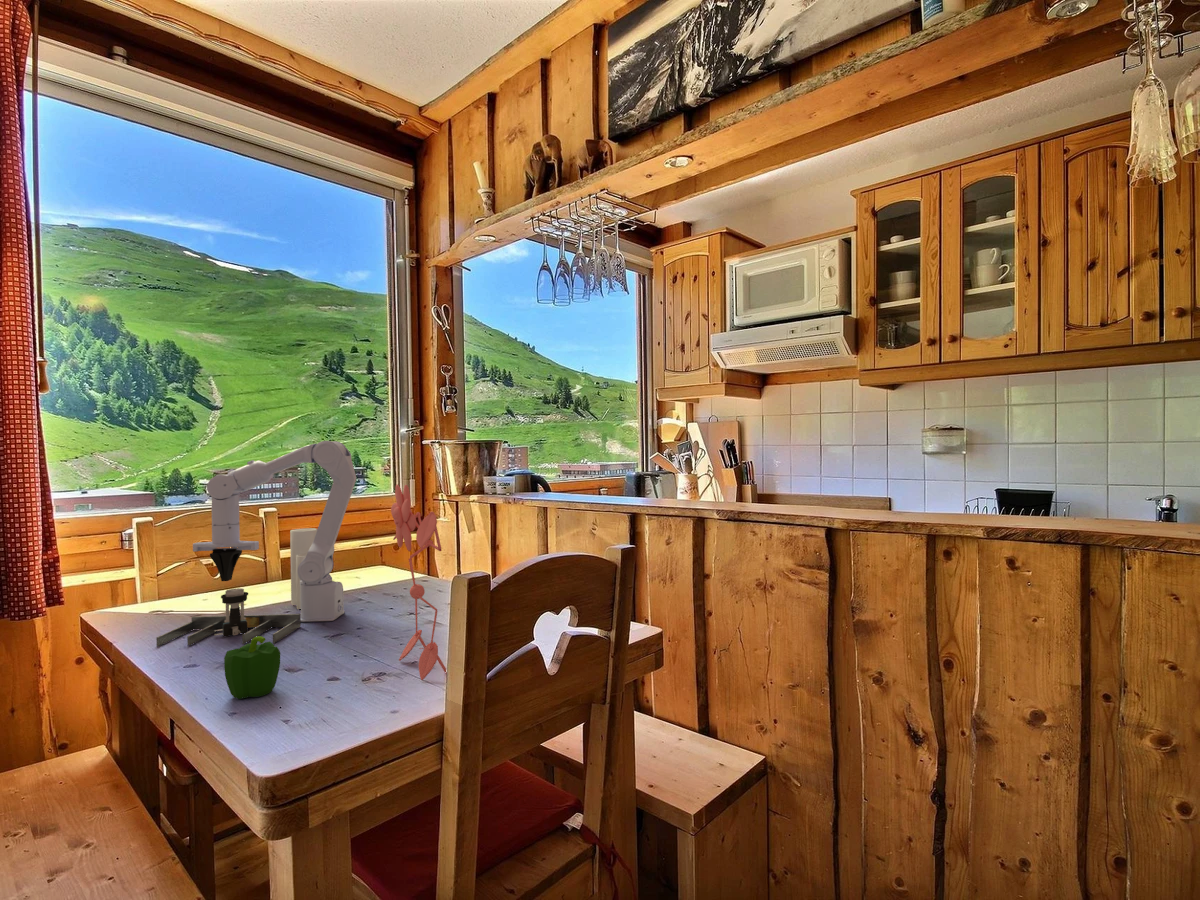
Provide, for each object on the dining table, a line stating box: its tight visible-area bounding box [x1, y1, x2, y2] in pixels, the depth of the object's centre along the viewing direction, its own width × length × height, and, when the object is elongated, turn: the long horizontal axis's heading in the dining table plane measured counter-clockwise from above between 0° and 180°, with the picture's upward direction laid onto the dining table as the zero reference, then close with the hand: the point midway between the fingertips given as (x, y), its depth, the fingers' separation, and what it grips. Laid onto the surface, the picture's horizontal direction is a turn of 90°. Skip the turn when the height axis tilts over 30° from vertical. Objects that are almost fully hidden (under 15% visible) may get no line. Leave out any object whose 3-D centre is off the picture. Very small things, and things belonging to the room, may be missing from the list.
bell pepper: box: [223, 635, 281, 700], centre depth 103 cm, size 8×8×10 cm
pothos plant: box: [390, 483, 447, 681], centre depth 112 cm, size 15×26×35 cm, turn 32°
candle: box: [289, 527, 318, 610], centre depth 164 cm, size 11×7×20 cm, turn 41°
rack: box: [156, 613, 302, 647], centre depth 136 cm, size 25×13×3 cm, turn 93°
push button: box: [214, 587, 249, 637], centre depth 138 cm, size 7×5×10 cm
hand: (226, 580), depth 147 cm, fingers closed
